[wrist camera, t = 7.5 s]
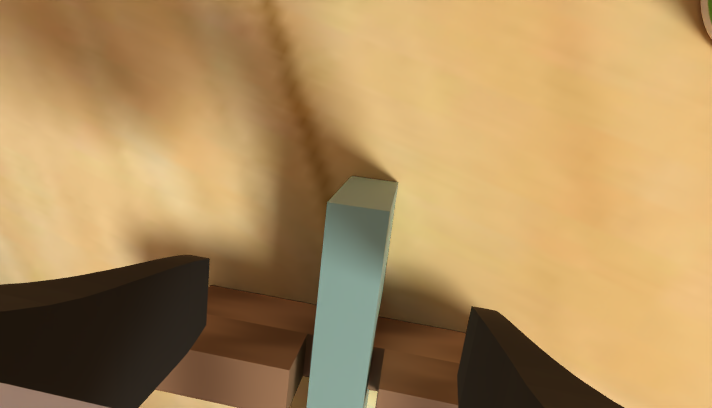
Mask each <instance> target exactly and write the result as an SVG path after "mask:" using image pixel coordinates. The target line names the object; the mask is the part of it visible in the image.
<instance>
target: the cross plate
mask: <svg viewBox="0 0 712 408" xmlns="http://www.w3.org/2000/svg"><path fill="white" fill-rule="evenodd" d="M397 187H398V182H392V181H385V180H378V179H371V178H364V177H356V176H351V177H350V178H349V179H348V180H347V181H346V182H345V184H344V185H343V186H342V187H341V188H340V189H339V190H338V191H337V192H336V193H335V194H334V195H333V197H332V198H331V199H330V200H329V201H328V202H327V209H326V219H325V229H324V239H323V249H322V259H321V269H320V279H319V289H318V299H317V309H316V318H315V328H314V338H313V348H312V358H311V368H310V378H309V388H308V398H307V408H366V406H367V399H368V392H369V389H367V388H368V381H369V374H370V367H371V360H372V353H373V345H374V338H375V331H376V325H377V320H378V315H379V310H380V305H381V300H382V293H383V286H384V279H385V272H386V265H387V258H388V251H389V244H390V236H391V229H392V222H393V215H394V208H395V201H396V194H397Z"/></svg>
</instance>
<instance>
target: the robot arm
mask: <svg viewBox="0 0 712 408" xmlns="http://www.w3.org/2000/svg"><path fill="white" fill-rule="evenodd" d="M208 279H209V258H203V257H198V256H192V255H180V256H173V257H167V258H162V259H157V260H153V261H148V262H144V263H139V264H134V265H130V266H125V267H121V268H116V269H111V270H106V271H101V272H96V273H90V274H85V275H80V276H74V277H68V278H61V279H55V280H46V281H38V282H30V283H19V284H4V285H0V408H138V407H139V406H140V405H141V404H142V403H143V402H144V401H145V400H146V399H147V398H148V396H149V395H150V394H151V393H152V392H153V391H154V390H155V389H156V388H157V387H158V386H159V384H160V383H161V382H162V381H163V380H164V379H165V378H166V377H167V376H168V375H169V373H170V372H171V371H172V370H173V369H174V368H175V367H176V366H177V365H178V363H179V362H180V361H181V360H182V359H183V358H184V357H185V355H186V354H187V353H188V352H189V350H190V349H191V347H192V346H193V345H194V343H195V342H196V340H197V339H198V337H199V336H200V334H201V332H202V331H203V329H204V328H205V326H206V321H207V300H208ZM457 387H458V408H624V407H622V406H621V405H619V404H617V403H615V402H614V401H612V400H611V399H609V398H607V397H606V396H604V395H603V394H601V393H600V392H598V391H597V390H595V389H594V388H592V387H591V386H589V385H588V384H586V383H585V382H583V381H582V380H580V379H579V378H577V377H576V376H575V375H573V374H572V373H571V372H569V371H568V370H567V369H565V368H564V367H563V366H562V365H560V364H559V363H558V362H556V361H555V360H554V359H552V358H551V357H550V356H549V355H548V354H546V353H545V352H544V351H543V350H542V349H540V348H539V347H538V346H537V345H536V344H535V343H533V342H532V341H531V340H530V339H529V338H528V337H527V336H525V335H524V334H523V333H522V332H521V331H520V330H519V329H518V328H516V327H515V326H514V325H513V324H512V323H511V322H510V321H509V320H507V319H506V318H505V317H504V316H503V315H501V314H500V313H499V312H497V311H495V310H489V309H484V308H478V307H473V306H472V307H471V312H470V317H469V321H468V326H467V331H466V336H465V340H464V345H463V350H462V355H461V359H460V364H459V369H458V374H457Z"/></svg>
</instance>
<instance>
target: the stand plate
mask: <svg viewBox="0 0 712 408" xmlns="http://www.w3.org/2000/svg"><path fill="white" fill-rule="evenodd" d="M316 309H317V305H314V304H309V303H303V302H298V301H293V300H287V299H282V298H277V297H271V296H266V295H261V294H255V293H250V292H245V291H239V290H234V289H229V288H223V287H218V286H213V285H211V286H210V287H208V300H207V321H206V326H205V328H204V329H203V331H202V332H201V334H200V336H199V337H198V339H197V340H196V342H195V343H194V345H193V346H192V347H191V349H190V350H189V352H188V353H187V354H186V355H185V357H184V358H183V359H182V360H181V361H180V362H179V363H178V365H177V366H176V367H175V368H174V369H173V370H172V371H171V372H170V373H169V375H168V376H167V377H166V378H165V379H164V380H163V381H162V382H161V383H160V384H159V386H158V387H157V388H156V389H155V390H160V391H164V392H169V393H173V394H178V395H183V396H187V397H192V398H196V399H201V400H205V401H210V402H215V403H219V404H224V405H228V406H233V407H237V408H289V407H290V404H291V402H292V400H293V397H294V395H295V393H296V390H297V388H298V386H299V383H300V381H301V379H302V376H306V377H310V368H311V358H312V348H313V338H314V328H315V318H316ZM465 336H466V333H463V332H458V331H453V330H447V329H442V328H437V327H431V326H426V325H421V324H415V323H410V322H405V321H399V320H394V319H389V318H383V317H378V320H377V325H376V331H375V338H374V345H373V353H372V360H371V367H370V374H369V381H368V388H367V389H369V390H373V391H378V394H377V401H376V407H375V408H458V387H457V374H458V369H459V364H460V359H461V355H462V350H463V345H464V340H465Z"/></svg>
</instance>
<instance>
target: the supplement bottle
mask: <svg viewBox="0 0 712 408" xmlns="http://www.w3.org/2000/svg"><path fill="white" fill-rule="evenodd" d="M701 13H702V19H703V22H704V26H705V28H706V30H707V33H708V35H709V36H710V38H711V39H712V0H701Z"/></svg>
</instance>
